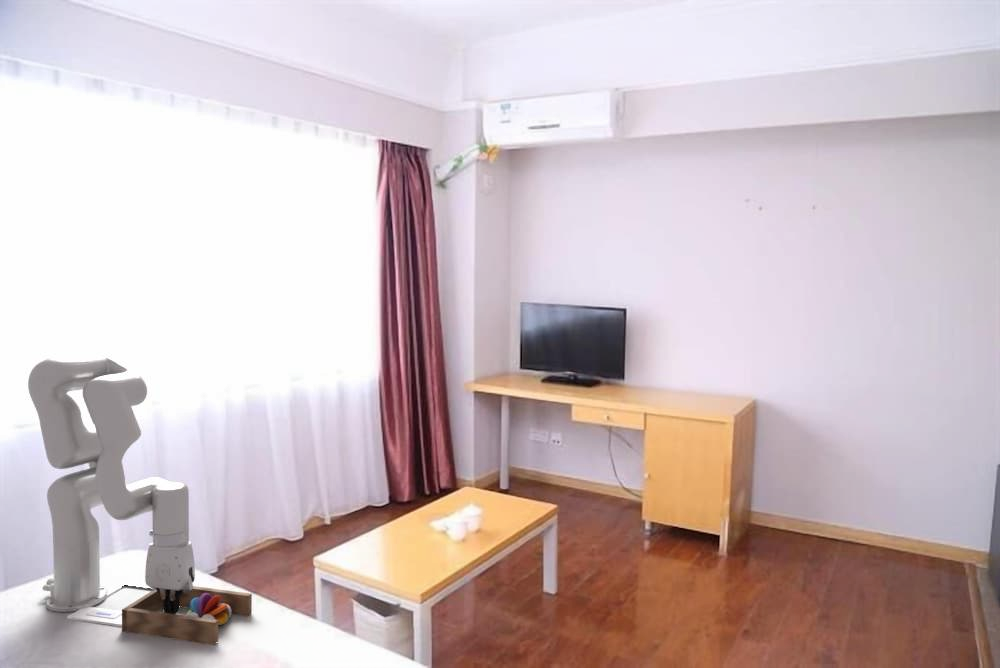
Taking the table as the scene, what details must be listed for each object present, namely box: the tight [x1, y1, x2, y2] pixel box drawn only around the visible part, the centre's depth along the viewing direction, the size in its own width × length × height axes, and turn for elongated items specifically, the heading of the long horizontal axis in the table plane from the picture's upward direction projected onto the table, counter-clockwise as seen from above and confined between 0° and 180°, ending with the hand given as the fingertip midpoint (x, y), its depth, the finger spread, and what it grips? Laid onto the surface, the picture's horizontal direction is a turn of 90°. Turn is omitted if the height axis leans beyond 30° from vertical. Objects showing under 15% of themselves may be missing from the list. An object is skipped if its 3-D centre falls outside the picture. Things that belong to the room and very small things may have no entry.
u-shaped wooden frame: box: [121, 585, 253, 645], centre depth 156 cm, size 23×14×5 cm, turn 79°
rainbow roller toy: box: [185, 593, 232, 626], centre depth 156 cm, size 8×10×7 cm
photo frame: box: [66, 583, 154, 628], centre depth 164 cm, size 15×1×18 cm
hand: (171, 614), depth 157 cm, fingers closed
